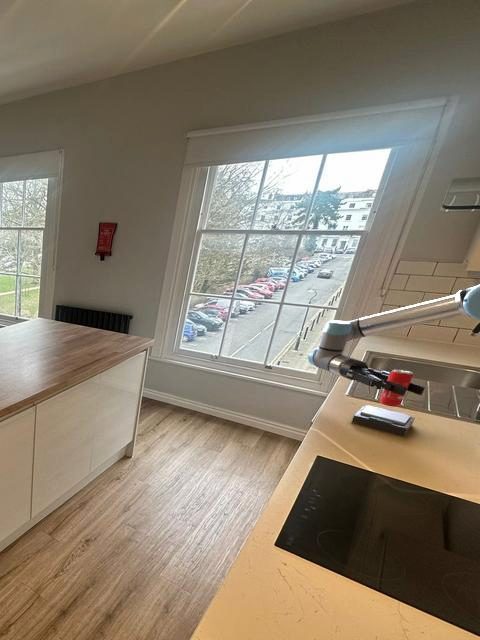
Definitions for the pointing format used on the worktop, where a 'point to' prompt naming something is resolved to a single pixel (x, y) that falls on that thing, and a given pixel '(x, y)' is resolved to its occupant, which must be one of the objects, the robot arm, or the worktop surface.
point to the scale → (383, 420)
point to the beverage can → (401, 379)
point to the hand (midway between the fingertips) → (413, 391)
